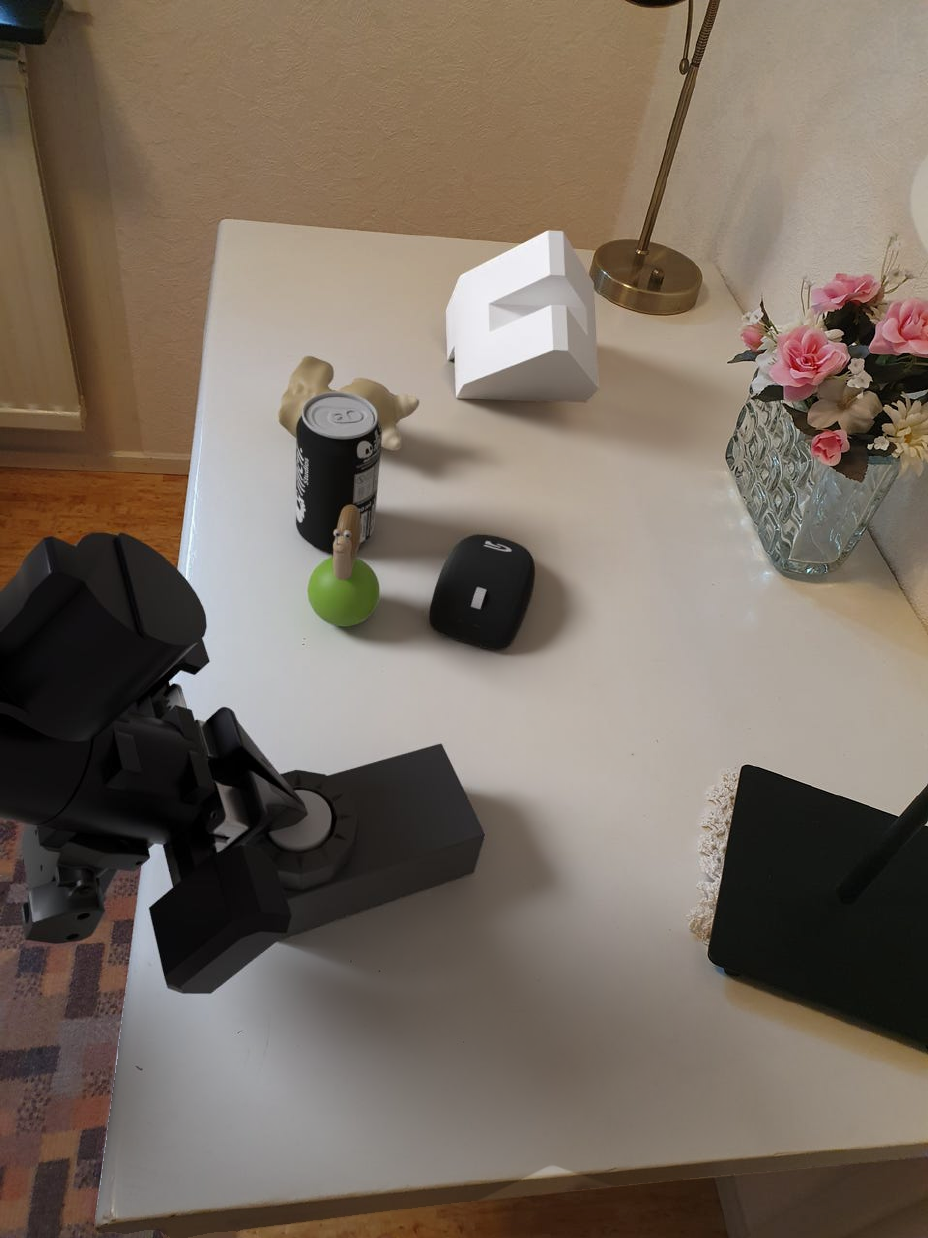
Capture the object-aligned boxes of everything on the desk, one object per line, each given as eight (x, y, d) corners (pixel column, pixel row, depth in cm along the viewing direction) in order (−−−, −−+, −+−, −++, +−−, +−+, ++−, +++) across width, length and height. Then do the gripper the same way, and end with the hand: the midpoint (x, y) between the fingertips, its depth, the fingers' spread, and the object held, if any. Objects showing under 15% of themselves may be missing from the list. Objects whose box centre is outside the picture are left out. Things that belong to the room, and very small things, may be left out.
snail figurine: (300, 646, 70) (300, 528, 61) (312, 586, 74) (315, 467, 65) (372, 654, 70) (383, 538, 61) (380, 594, 75) (391, 477, 66)
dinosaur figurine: (308, 344, 87) (416, 358, 81) (335, 400, 92) (438, 417, 87) (262, 405, 83) (372, 424, 78) (294, 460, 89) (398, 481, 84)
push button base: (262, 946, 54) (258, 892, 49) (232, 845, 58) (226, 785, 53) (474, 873, 59) (491, 817, 54) (433, 784, 63) (445, 724, 58)
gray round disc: (277, 872, 52) (276, 854, 50) (259, 818, 54) (259, 799, 53) (338, 852, 53) (339, 834, 52) (319, 800, 55) (320, 782, 54)
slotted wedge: (448, 410, 99) (484, 346, 81) (445, 310, 100) (480, 225, 82) (573, 414, 101) (634, 353, 84) (569, 316, 102) (628, 235, 85)
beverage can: (287, 510, 80) (286, 392, 71) (360, 500, 82) (368, 384, 73) (307, 563, 76) (308, 444, 67) (383, 550, 78) (394, 434, 69)
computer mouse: (543, 561, 80) (552, 526, 77) (511, 660, 72) (520, 626, 69) (460, 537, 80) (466, 502, 78) (419, 633, 72) (424, 598, 69)
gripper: (-71, 705, 48) (172, 764, 60) (-41, 1065, 37) (248, 1049, 49) (63, 565, 45) (290, 657, 57) (138, 913, 34) (399, 935, 46)
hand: (300, 814), depth 52 cm, fingers closed, pressing on gray round disc
